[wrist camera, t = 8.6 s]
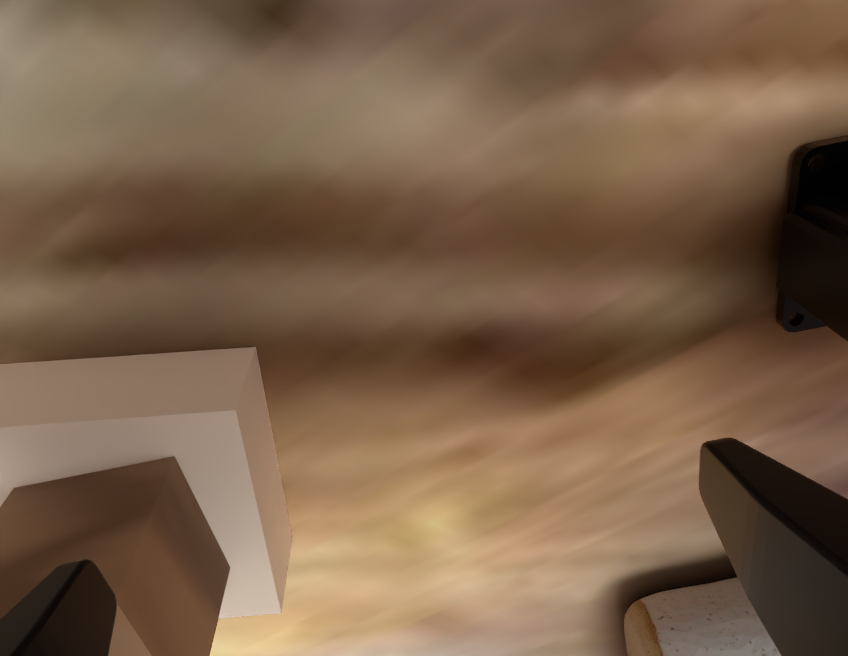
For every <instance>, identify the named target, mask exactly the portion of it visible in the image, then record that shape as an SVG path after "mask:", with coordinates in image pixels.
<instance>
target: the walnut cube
mask: <svg viewBox="0 0 848 656" xmlns="http://www.w3.org/2000/svg"><path fill="white" fill-rule="evenodd" d="M82 559H90V560H92V561H93V562H95V563H96V565H97V566H98V568H99V569H100V571H101V573H102V574H103V576H104V577H105V579H106V580H107V582H108V583H109V585H110V587H111V588H112V590H113V591H114V593H115V596H116V600H117V613H116V618H115V623H114V629H113V634H112V640H111V645H110V650H109V656H209V655H210V651H211V647H212V642H213V638H214V634H215V630H216V626H217V622H218V617H219V613H220V609H221V605H222V601H223V596H224V592H225V588H226V584H227V580H228V576H229V571H230V566H229V564H228V562H227V560H226V558H225V556H224V554H223V552H222V550H221V548H220V546H219V544H218V542H217V540H216V538H215V536H214V534H213V532H212V530H211V528H210V526H209V524H208V522H207V520H206V518H205V516H204V514H203V512H202V510H201V508H200V506H199V504H198V502H197V500H196V498H195V496H194V494H193V492H192V490H191V488H190V486H189V484H188V482H187V480H186V478H185V476H184V474H183V472H182V470H181V468H180V466H179V464H178V462H177V460H176V458H175V456H173V457H168V458H163V459H158V460H153V461H148V462H143V463H138V464H133V465H128V466H123V467H118V468H113V469H107V470H102V471H97V472H92V473H87V474H82V475H77V476H72V477H67V478H62V479H57V480H52V481H47V482H42V483H37V484H32V485H26V486H21V487H16V488H13V490H12V491H11V493H10V494H9V495H8V497H7V498H6V500H5V501H4V502H3V504H2V505H1V507H0V618H1V617H3V616H4V615H5V614H6V613H7V612H8V611H9V610H10V609H11V608H12V607H13V606H15V605H16V604H17V603H18V602H19V601H20V600H21V599H22V598H23V597H24V596H25V595H27V594H28V593H29V592H30V591H31V590H32V589H33V588H34V587H35V586H36V585H37V584H39V583H40V582H41V581H42V580H43V579H44V578H45V577H46V576H47V575H48V574H49V573H51V572H52V571H53V570H54V569H55V568H56V567H57V566H59V565H60V564H63V563H66V562H71V561H76V560H82Z"/></svg>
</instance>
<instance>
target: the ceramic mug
mask: <svg viewBox="0 0 848 656" xmlns="http://www.w3.org/2000/svg"><path fill="white" fill-rule="evenodd" d="M624 635H625V641H626V648H627V654H628V656H781V654H780V653H779V651H778V649H777V648H776V646H775V644H774V643H773V641H772V639H771V638H770V636H769V634H768V633H767V631H766V629H765V627H764V626H763V624H762V622H761V621H760V619H759V617H758V616H757V614H756V612H755V610H754V609H753V607H752V605H751V603H750V601H749V600H748V598H747V596H746V594H745V592H744V590H743V588H742V586H741V583H740V581H739V579H738V577H736V578H731V579H726V580H722V581H717V582H713V583H708V584H702V585H696V586H690V587H684V588H678V589H673V590H667V591H662V592H658V593H655V594H652V595H650V596H647V597H644V598H642V599H639V600H637V601H635V602H634V603H633V604H632V605H631V606H630V607H629V608H628V610H627V612H626V614H625V618H624Z"/></svg>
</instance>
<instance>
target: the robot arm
mask: <svg viewBox="0 0 848 656" xmlns="http://www.w3.org/2000/svg"><path fill="white" fill-rule="evenodd" d="M815 155H817V159H816V162H815V163H814V164H813V165H812V166H811V167H809V166H808V164H809V161H810V159H811V158H812V157H813V156H815ZM776 286H777V289H779V291H778V300H777V309H776V322H777V323H778V324H779V325H780V326H781V327H782V328H783V329H784V330H786V331H788V332H798V331H803V330H808V329H813V328H818V327H824V326H828V327H829V328H830V329H832V330H833V331H834V332H836V333H837V334H838V335H840V336H841V337H842V338H844V339H845V340H846V341H848V136H845V137H840V138H835V139H830V140H825V141H819V142H814V143H810V144H807V145H805V146H803V147H802V148H801V149H800V150H798V152H797V153H796V155H795V156H794V159H793V163H792V172H791V181H790V190H789V199H788V209H787V216H786V218H785V219H784V221H783V228H782V238H781V247H780V256H779V266H778V275H777V284H776ZM796 313H797V315H796V317H795V318H793V319H792V320H790V318H791V317H792V316H793V315H794V314H796ZM699 490H700V495H701V498H702V500H703V503H704V505H705V507H706V509H707V511H708V514H709V516H710V518H711V520H712V522H713V525H714V527H715V529H716V531H717V533H718V535H719V538H720V540H721V542H722V544H723V546H724V549H725V551H726V553H727V555H728V557H729V560H730V562H731V564H732V566H733V568H734V570H735V573H736V575H737V577H738V579H739V581H740V583H741V586H742V588H743V590H744V592H745V594H746V596H747V598H748V600H749V601H750V603H751V605H752V607H753V609H754V610H755V612H756V614H757V616H758V617H759V619H760V621H761V622H762V624H763V626H764V627H765V629H766V631H767V633H768V634H769V636H770V638H771V639H772V641H773V643H774V644H775V646H776V648H777V649H778V651H779V653H780V654H781V656H848V499H846V498H844V497H843V496H841V495H839V494H837V493H835V492H833V491H831V490H830V489H828V488H826V487H824V486H822V485H820V484H818V483H816V482H815V481H813V480H811V479H809V478H807V477H805V476H803V475H802V474H800V473H798V472H796V471H794V470H792V469H790V468H789V467H787V466H785V465H783V464H781V463H779V462H777V461H776V460H774V459H772V458H770V457H768V456H766V455H764V454H762V453H761V452H759V451H757V450H755V449H753V448H751V447H749V446H748V445H746V444H744V443H742V442H740V441H738V440H736V439H734V438H723V439H717V440H712V441H707V442H705V443H703V444H702V446H701V450H700V468H699ZM116 613H117V600H116V596H115V593H114V591H113V590H112V588H111V587H110V585H109V583H108V582H107V580H106V579H105V577H104V576H103V574H102V573H101V571H100V569H99V568H98V566H97V565H96V563H95V562H93V561H92V560H90V559H82V560H76V561H71V562H66V563H63V564H60V565H59V566H57V567H56V568H55V569H54V570H53V571H52V572H51V573H49V574H48V575H47V576H46V577H45V578H44V579H43V580H42V581H41V582H40V583H39V584H37V585H36V586H35V587H34V588H33V589H32V590H31V591H30V592H29V593H28V594H27V595H25V596H24V597H23V598H22V599H21V600H20V601H19V602H18V603H17V604H16V605H15V606H13V607H12V608H11V609H10V610H9V611H8V612H7V613H6V614H5V615H4V616H3V617H1V618H0V656H109V650H110V645H111V640H112V634H113V629H114V623H115V618H116Z"/></svg>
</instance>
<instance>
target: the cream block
mask: <svg viewBox="0 0 848 656" xmlns="http://www.w3.org/2000/svg"><path fill="white" fill-rule="evenodd" d="M173 456H175V458H176V460H177V462H178V464H179V466H180V468H181V470H182V472H183V474H184V476H185V478H186V480H187V482H188V484H189V486H190V488H191V490H192V492H193V494H194V496H195V498H196V500H197V502H198V504H199V506H200V508H201V510H202V512H203V514H204V516H205V518H206V520H207V522H208V524H209V526H210V528H211V530H212V532H213V534H214V536H215V538H216V540H217V542H218V544H219V546H220V548H221V550H222V552H223V554H224V556H225V558H226V560H227V562H228V564H229V566H230V571H229V576H228V580H227V584H226V588H225V592H224V596H223V601H222V605H221V609H220V613H219V617H218V619H221V618H233V617H244V616H255V615H267V614H278V613H281V612H282V605H283V598H284V591H285V584H286V576H287V569H288V562H289V555H290V548H291V541H292V532H291V526H290V521H289V516H288V511H287V506H286V500H285V495H284V490H283V485H282V480H281V475H280V469H279V464H278V459H277V454H276V449H275V444H274V438H273V433H272V428H271V423H270V418H269V412H268V407H267V402H266V397H265V392H264V387H263V381H262V376H261V371H260V366H259V361H258V356H257V350H256V347H247V348H232V349H218V350H203V351H188V352H173V353H159V354H144V355H129V356H114V357H99V358H85V359H70V360H55V361H40V362H26V363H11V364H0V507H1V505H2V504H3V502H4V501H5V500H6V498H7V497H8V495H9V494H10V493H11V491H12V490H13V488H16V487H21V486H26V485H32V484H37V483H42V482H47V481H52V480H57V479H62V478H67V477H72V476H77V475H82V474H87V473H92V472H97V471H102V470H107V469H113V468H118V467H123V466H128V465H133V464H138V463H143V462H148V461H153V460H158V459H163V458H168V457H173Z"/></svg>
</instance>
